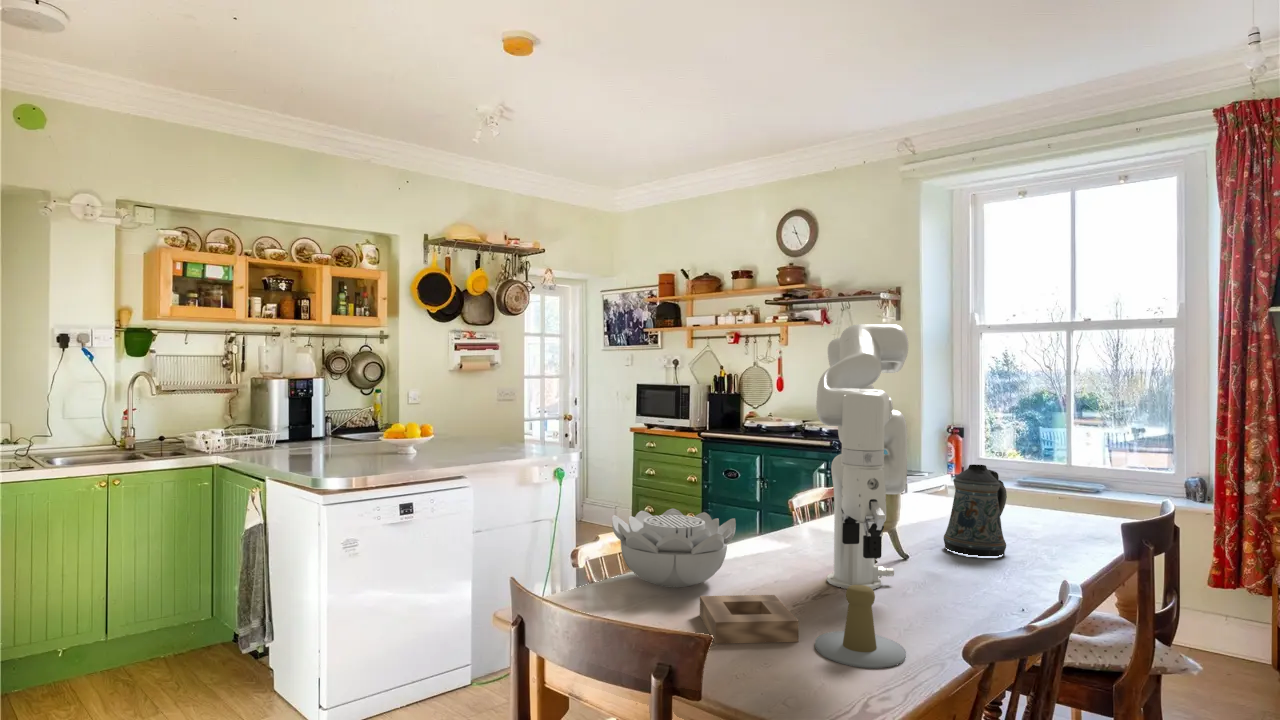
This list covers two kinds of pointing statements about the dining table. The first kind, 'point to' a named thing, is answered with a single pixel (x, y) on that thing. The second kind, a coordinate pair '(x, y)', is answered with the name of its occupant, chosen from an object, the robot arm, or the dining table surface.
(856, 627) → the cork
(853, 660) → the slate mat
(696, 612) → the dining table surface
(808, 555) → the dining table surface
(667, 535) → the decorative bowl
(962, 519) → the beer stein
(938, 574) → the dining table surface
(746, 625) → the walnut holder
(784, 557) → the dining table surface
